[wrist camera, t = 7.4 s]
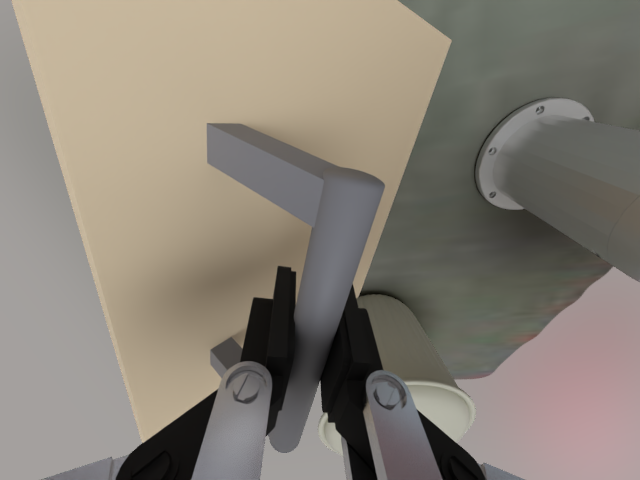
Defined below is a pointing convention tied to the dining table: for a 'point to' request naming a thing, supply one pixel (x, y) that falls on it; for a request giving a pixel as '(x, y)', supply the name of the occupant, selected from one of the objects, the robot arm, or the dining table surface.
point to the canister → (411, 370)
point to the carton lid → (227, 170)
